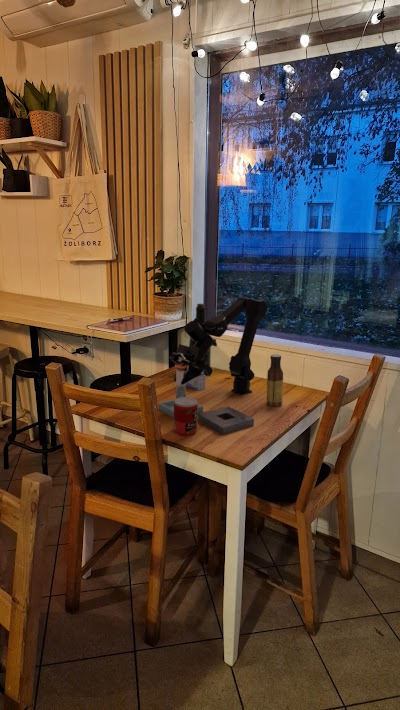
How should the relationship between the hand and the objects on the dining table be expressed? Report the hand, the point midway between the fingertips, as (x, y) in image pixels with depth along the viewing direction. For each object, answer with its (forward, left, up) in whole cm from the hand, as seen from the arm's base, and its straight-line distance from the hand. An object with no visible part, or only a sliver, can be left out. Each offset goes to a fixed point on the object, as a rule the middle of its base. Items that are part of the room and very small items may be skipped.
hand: (178, 382), depth 174 cm
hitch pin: (-1, 0, -8) cm, 8 cm away
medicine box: (-22, -19, -12) cm, 32 cm away
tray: (-1, 0, -11) cm, 12 cm away
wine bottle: (-35, -34, -12) cm, 50 cm away
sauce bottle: (-36, +14, -12) cm, 41 cm away
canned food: (+8, +16, -12) cm, 21 cm away
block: (-8, +18, -11) cm, 23 cm away
